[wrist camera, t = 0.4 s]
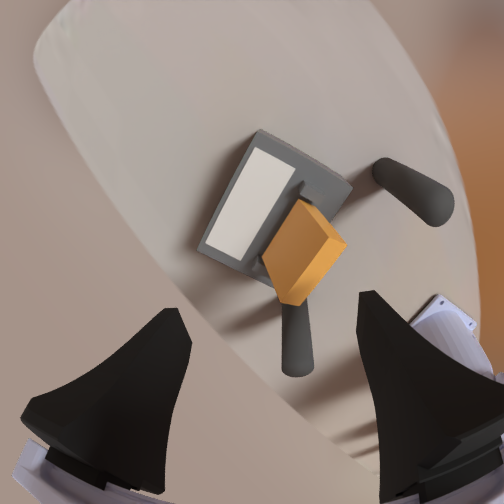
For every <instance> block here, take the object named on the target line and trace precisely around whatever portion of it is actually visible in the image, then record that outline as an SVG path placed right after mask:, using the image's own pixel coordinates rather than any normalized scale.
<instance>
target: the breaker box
mask: <svg viewBox="0 0 504 504" xmlns="http://www.w3.org/2000/svg"><path fill="white" fill-rule="evenodd" d="M352 189H353V187H352V186H351V185H350V184H349V183H348V182H347V181H346V180H345V179H344V178H343V177H342V176H341V175H339V174H338V173H336V172H335V171H333V170H331V169H330V168H328V167H327V166H325V165H323V164H322V163H320V162H319V161H317V160H315V159H314V158H312V157H310V156H309V155H307V154H305V153H304V152H302V151H300V150H298V149H297V148H295V147H293V146H291V145H290V144H288V143H286V142H284V141H282V140H280V139H279V138H277V137H275V136H273V135H271V134H269V133H267V132H266V131H264V130H262V129H260V130H258V131H257V133H256V134H255V136H254V138H253V140H252V142H251V144H250V145H249V147H248V149H247V151H246V153H245V155H244V156H243V158H242V160H241V162H240V164H239V166H238V168H237V170H236V171H235V173H234V175H233V177H232V179H231V181H230V183H229V185H228V187H227V189H226V191H225V193H224V195H223V197H222V199H221V201H220V203H219V205H218V207H217V209H216V211H215V213H214V215H213V217H212V219H211V221H210V223H209V225H208V227H207V229H206V231H205V233H204V235H203V237H202V239H201V241H200V243H199V246H198V248H197V251H199V252H201V253H203V254H205V255H207V256H209V257H211V258H213V259H215V260H217V261H219V262H221V263H223V264H225V265H227V266H229V267H231V268H233V269H235V270H237V271H239V272H241V273H243V274H245V275H247V276H249V277H251V278H253V279H256V280H258V281H260V282H262V283H264V284H266V285H268V286H270V287H272V288H274V286H273V283H272V281H271V278H270V276H269V273H268V271H267V269H266V266H265V264H264V261H263V259H262V256H263V254H264V252H265V251H266V249H267V248H268V246H269V245H270V243H271V241H272V240H273V238H274V237H275V235H276V234H277V232H278V230H279V229H280V227H281V226H282V224H283V222H284V221H285V219H286V218H287V216H288V215H289V213H290V211H291V210H292V208H293V207H294V205H295V203H296V202H297V200H298V199H300V200H303V201H305V202H307V203H309V204H311V205H313V206H315V207H316V208H317V209H318V210H319V211H320V212H321V214H322V215H323V216H324V217H325V218H326V219H327V221H328V222H329V223H330V222H331V221H332V219H333V218H334V216H335V215H336V213H337V212H338V210H339V209H340V207H341V206H342V204H343V203H344V201H345V200H346V198H347V197H348V195H349V194H350V192H351V191H352ZM274 289H275V288H274Z"/></svg>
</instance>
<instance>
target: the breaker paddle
mask: <svg viewBox="0 0 504 504" xmlns="http://www.w3.org/2000/svg"><path fill="white" fill-rule="evenodd" d="M346 246H347V244H346V243H345V241H344V240H343V239H342V238H341V236H340V235H339V234H338V233H337V232H336V230H335V229H334V228H333V227H332V225H331V224H330V223H329V222H328V221H327V219H326V218H325V217H324V216H323V215H322V214H321V212H320V211H319V210H318V209H317V208H316V207H315V206H313V205H311V204H309V203H307V202H305V201H303V200H300V199H298V200H297V202H296V203H295V205H294V207H293V208H292V210H291V211H290V213H289V215H288V216H287V218H286V219H285V221H284V222H283V224H282V226H281V227H280V229H279V230H278V232H277V234H276V235H275V237H274V238H273V240H272V241H271V243H270V245H269V246H268V248H267V249H266V251H265V252H264V254H263V256H262V259H263V261H264V264H265V266H266V269H267V271H268V273H269V276H270V278H271V281H272V283H273V286H274V288H275V291H276V293H277V296H278V298H279V301H280V303H285V304H290V305H295V306H300V305H301V304H302V303H303V301H304V300H305V299H306V298H307V296H308V295H309V294H310V293H311V292H312V290H313V289H314V288H315V287H316V285H317V284H318V283H319V282H320V280H321V279H322V278H323V276H324V275H325V274H326V273H327V271H328V270H329V269H330V267H331V266H332V265H333V264H334V262H335V261H336V260H337V258H338V257H339V256H340V254H341V253H342V252H343V250H344V249H345V248H346Z"/></svg>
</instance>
